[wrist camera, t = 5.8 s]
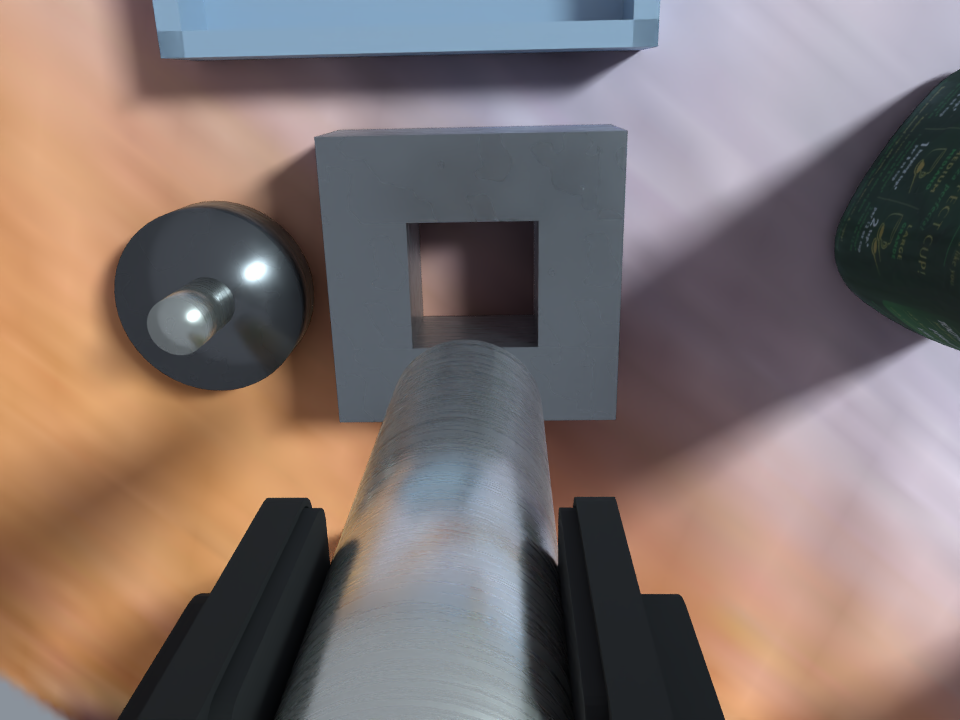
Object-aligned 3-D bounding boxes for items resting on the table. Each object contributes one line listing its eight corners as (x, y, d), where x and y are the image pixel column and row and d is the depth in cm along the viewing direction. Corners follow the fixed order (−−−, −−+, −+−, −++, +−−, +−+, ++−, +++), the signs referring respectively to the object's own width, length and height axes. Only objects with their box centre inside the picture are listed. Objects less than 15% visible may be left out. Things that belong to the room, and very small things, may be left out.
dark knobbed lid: (304, 199, 30) (267, 220, 25) (321, 371, 32) (290, 421, 27) (123, 202, 30) (53, 224, 25) (153, 373, 32) (94, 423, 27)
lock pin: (562, 319, 16) (753, 1125, 4) (560, 493, 17) (691, 1512, 5) (367, 322, 16) (-91, 1101, 4) (380, 494, 17) (74, 1482, 5)
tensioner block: (610, 124, 28) (627, 130, 25) (602, 379, 32) (615, 419, 28) (338, 130, 29) (314, 137, 25) (358, 382, 32) (339, 422, 28)
